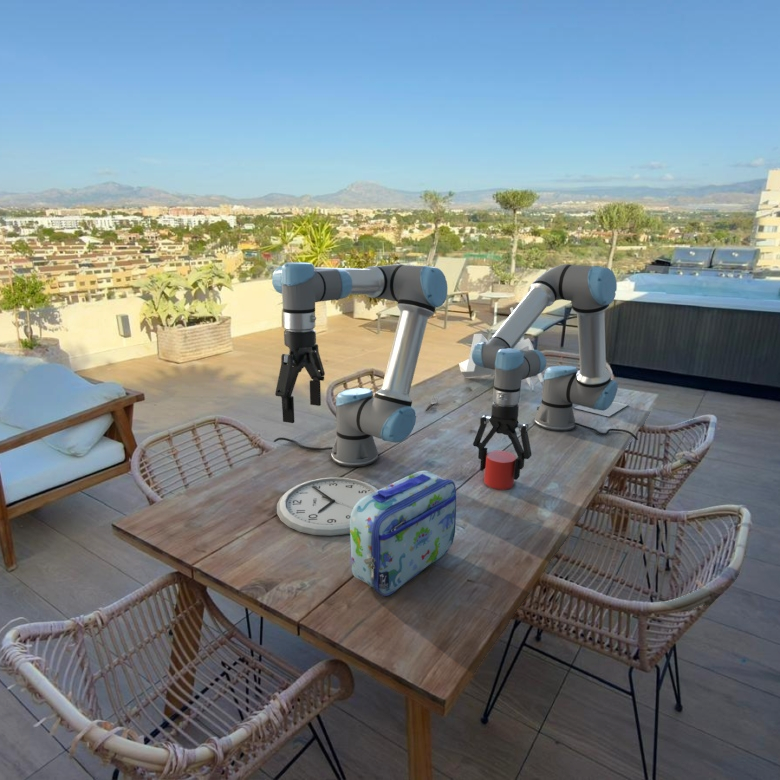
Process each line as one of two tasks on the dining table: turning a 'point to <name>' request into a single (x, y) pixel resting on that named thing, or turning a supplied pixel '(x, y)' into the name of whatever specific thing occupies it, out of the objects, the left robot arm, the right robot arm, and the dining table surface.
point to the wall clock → (322, 505)
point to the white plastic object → (472, 369)
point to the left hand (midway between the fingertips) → (302, 413)
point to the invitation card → (608, 412)
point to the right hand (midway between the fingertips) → (499, 473)
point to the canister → (499, 469)
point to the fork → (432, 403)
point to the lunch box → (402, 530)
